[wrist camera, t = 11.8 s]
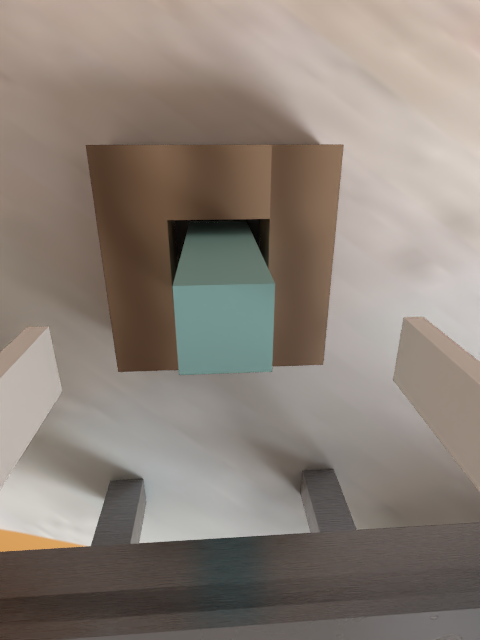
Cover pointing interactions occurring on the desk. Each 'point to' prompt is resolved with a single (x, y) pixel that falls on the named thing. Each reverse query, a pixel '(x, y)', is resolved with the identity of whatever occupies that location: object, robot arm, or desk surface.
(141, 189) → the socket block
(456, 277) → the desk surface
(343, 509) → the grey step stool
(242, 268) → the peg
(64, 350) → the desk surface
